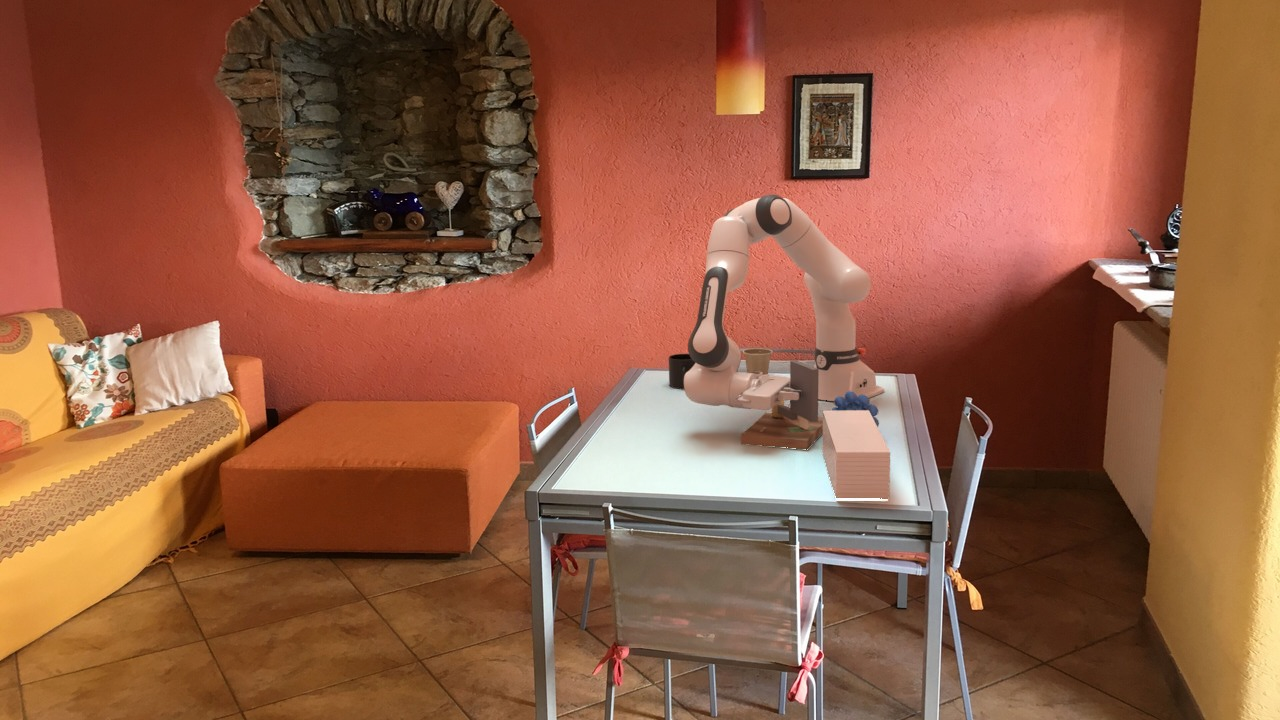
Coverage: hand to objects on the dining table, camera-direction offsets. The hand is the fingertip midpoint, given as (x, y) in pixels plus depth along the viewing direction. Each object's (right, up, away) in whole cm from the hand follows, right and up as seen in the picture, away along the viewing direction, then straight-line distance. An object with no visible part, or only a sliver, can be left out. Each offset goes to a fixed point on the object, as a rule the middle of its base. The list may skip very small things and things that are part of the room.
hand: (800, 395), depth 234 cm
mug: (-25, 0, +63) cm, 68 cm away
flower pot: (-2, +3, +71) cm, 71 cm away
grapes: (+14, -11, +4) cm, 18 cm away
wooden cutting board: (-2, -10, +9) cm, 14 cm away
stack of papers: (+8, -17, -23) cm, 29 cm away
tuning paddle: (0, -7, +8) cm, 11 cm away
